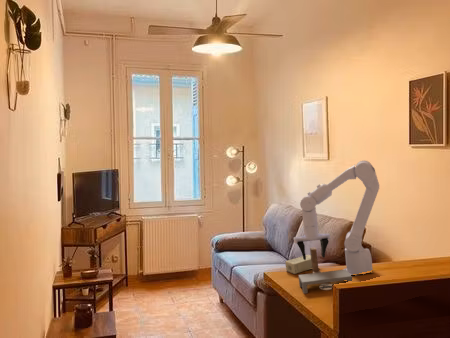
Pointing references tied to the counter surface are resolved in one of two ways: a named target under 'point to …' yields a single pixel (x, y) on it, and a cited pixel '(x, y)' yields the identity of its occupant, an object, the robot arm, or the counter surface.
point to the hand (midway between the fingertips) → (314, 258)
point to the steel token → (325, 286)
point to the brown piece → (314, 260)
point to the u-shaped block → (323, 278)
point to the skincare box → (299, 264)
